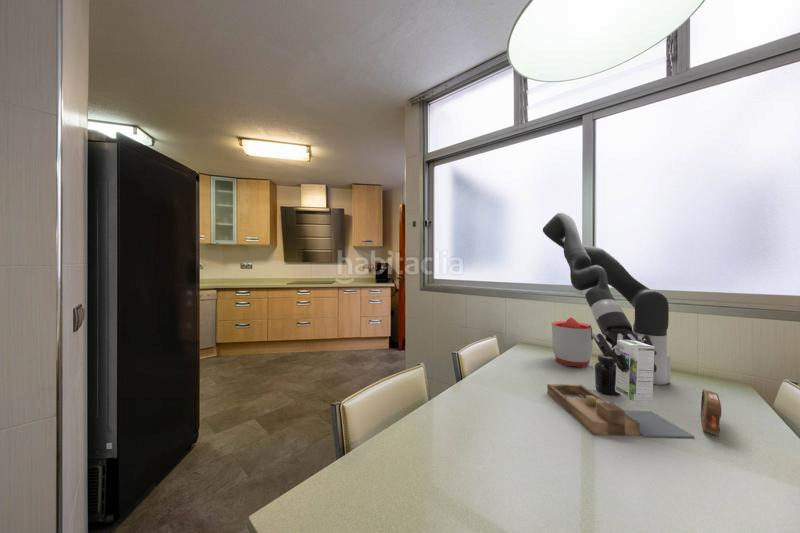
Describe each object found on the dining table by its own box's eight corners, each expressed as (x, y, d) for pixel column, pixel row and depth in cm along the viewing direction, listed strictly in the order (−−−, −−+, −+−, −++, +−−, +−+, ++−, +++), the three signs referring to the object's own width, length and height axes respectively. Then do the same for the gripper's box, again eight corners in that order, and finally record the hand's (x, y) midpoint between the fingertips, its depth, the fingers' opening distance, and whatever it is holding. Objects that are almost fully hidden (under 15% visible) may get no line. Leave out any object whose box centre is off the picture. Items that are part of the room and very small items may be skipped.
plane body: (581, 393, 91) (581, 375, 91) (639, 435, 68) (639, 411, 68) (547, 393, 91) (547, 375, 91) (593, 434, 68) (593, 410, 68)
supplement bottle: (611, 388, 95) (611, 353, 95) (626, 397, 88) (625, 359, 88) (590, 387, 95) (590, 352, 96) (603, 396, 89) (602, 359, 89)
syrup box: (614, 391, 77) (615, 339, 76) (634, 391, 77) (636, 339, 77) (631, 401, 71) (633, 345, 71) (654, 401, 71) (655, 345, 71)
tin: (700, 414, 78) (699, 384, 78) (717, 418, 75) (716, 387, 76) (703, 437, 67) (702, 402, 67) (723, 442, 65) (722, 406, 65)
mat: (651, 412, 79) (651, 411, 79) (694, 437, 67) (694, 436, 67) (608, 411, 79) (608, 410, 79) (643, 436, 67) (643, 435, 67)
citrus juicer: (600, 372, 109) (599, 322, 110) (550, 365, 118) (550, 318, 119) (597, 361, 123) (596, 316, 123) (552, 355, 132) (552, 313, 132)
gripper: (628, 325, 86) (660, 379, 74) (580, 323, 87) (603, 376, 75) (642, 311, 80) (678, 366, 69) (590, 309, 82) (617, 363, 70)
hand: (639, 371), depth 72 cm, fingers closed on syrup box, 6 cm apart
